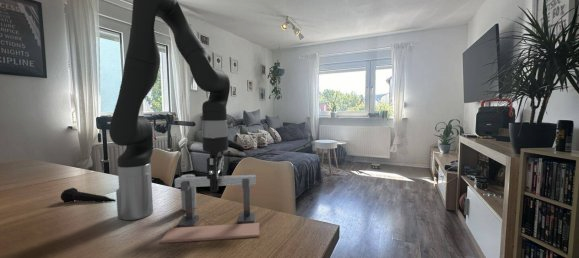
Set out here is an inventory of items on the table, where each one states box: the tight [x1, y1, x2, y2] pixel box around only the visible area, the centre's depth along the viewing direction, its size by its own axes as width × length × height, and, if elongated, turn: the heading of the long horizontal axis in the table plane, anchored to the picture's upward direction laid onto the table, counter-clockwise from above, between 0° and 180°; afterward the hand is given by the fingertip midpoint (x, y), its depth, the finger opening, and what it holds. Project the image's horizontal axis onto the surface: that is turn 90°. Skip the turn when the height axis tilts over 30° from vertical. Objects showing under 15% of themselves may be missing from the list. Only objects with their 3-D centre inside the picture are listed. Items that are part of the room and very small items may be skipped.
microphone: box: [60, 187, 117, 203], centre depth 94 cm, size 6×6×20 cm
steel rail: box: [174, 174, 257, 188], centre depth 75 cm, size 24×2×2 cm, turn 97°
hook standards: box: [176, 173, 256, 228], centre depth 76 cm, size 23×6×14 cm, turn 97°
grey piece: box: [180, 173, 197, 212], centre depth 86 cm, size 5×5×12 cm
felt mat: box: [160, 222, 260, 244], centre depth 69 cm, size 26×7×1 cm, turn 97°
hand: (216, 186), depth 75 cm, fingers open, 8 cm apart
